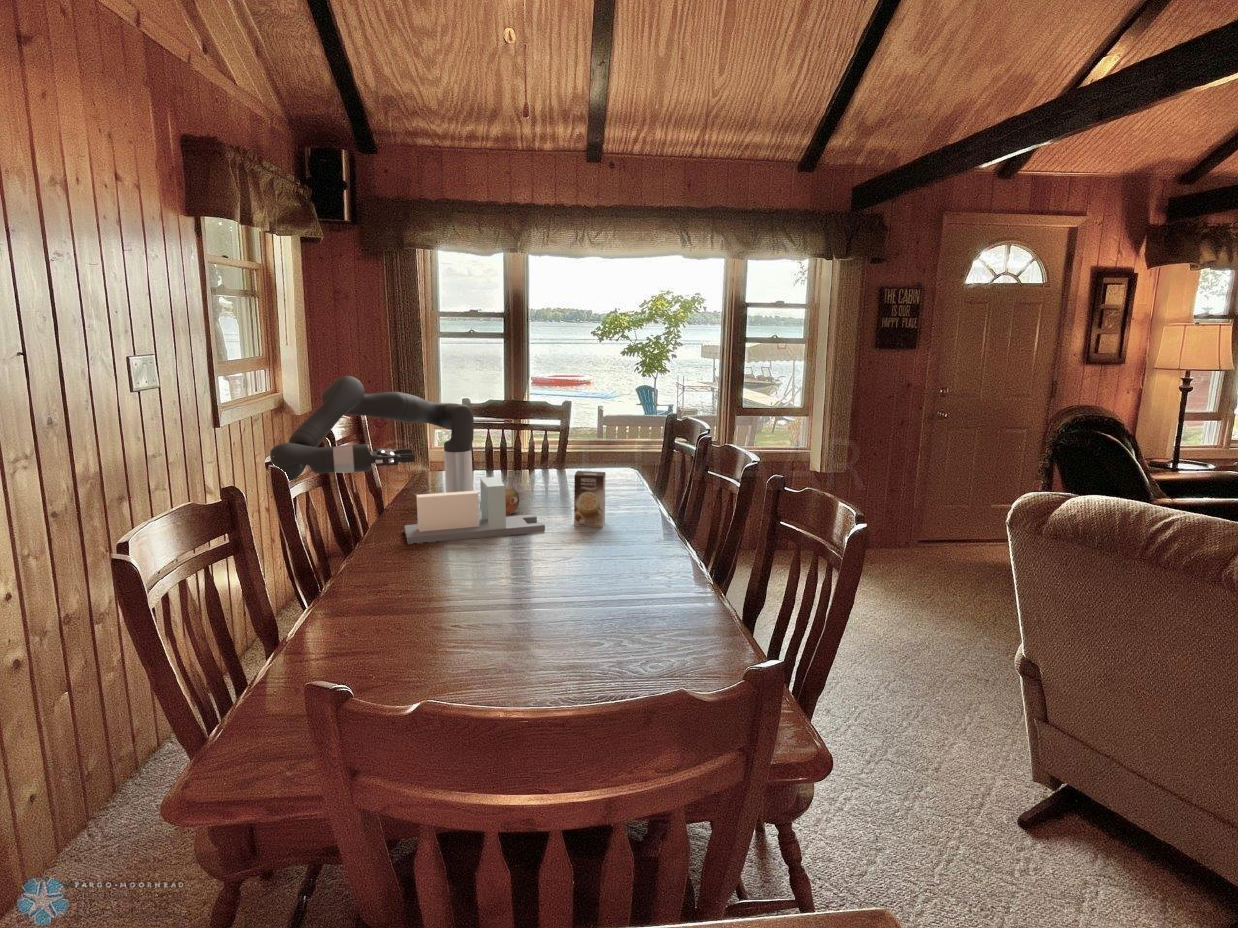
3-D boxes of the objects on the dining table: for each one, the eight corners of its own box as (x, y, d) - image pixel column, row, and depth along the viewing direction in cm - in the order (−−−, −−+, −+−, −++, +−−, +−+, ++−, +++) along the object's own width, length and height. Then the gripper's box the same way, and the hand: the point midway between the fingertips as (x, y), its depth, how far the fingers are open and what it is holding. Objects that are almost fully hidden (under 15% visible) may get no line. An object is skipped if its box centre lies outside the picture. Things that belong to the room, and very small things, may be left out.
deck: (404, 531, 213) (404, 525, 212) (534, 520, 226) (534, 514, 226) (408, 544, 201) (407, 537, 200) (544, 531, 214) (544, 525, 214)
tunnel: (481, 518, 220) (480, 478, 217) (497, 517, 222) (496, 476, 219) (488, 529, 208) (487, 486, 206) (506, 528, 210) (505, 485, 208)
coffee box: (573, 526, 220) (572, 474, 217) (576, 521, 226) (576, 470, 223) (603, 527, 219) (603, 475, 216) (605, 521, 225) (605, 471, 222)
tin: (485, 521, 225) (485, 495, 223) (478, 519, 227) (478, 493, 225) (520, 511, 237) (519, 486, 235) (513, 510, 239) (512, 485, 237)
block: (418, 528, 209) (416, 494, 207) (477, 523, 215) (476, 490, 213) (419, 531, 206) (417, 497, 204) (479, 526, 212) (478, 493, 210)
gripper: (351, 449, 191) (414, 445, 196) (350, 441, 204) (410, 438, 209) (353, 477, 192) (416, 473, 198) (352, 467, 205) (412, 463, 211)
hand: (413, 455), depth 203 cm, fingers open, 8 cm apart
